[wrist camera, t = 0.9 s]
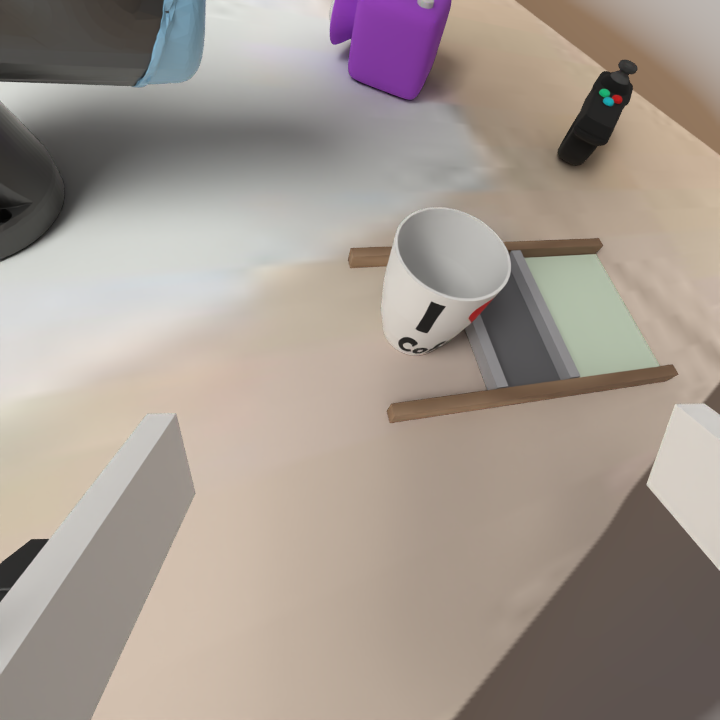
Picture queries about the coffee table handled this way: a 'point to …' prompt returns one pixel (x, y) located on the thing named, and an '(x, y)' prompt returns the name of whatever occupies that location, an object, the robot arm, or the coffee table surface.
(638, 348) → the pad
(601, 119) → the controller
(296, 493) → the coffee table surface
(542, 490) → the coffee table surface
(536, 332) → the tray
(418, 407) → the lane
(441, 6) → the toy camera
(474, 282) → the cup
